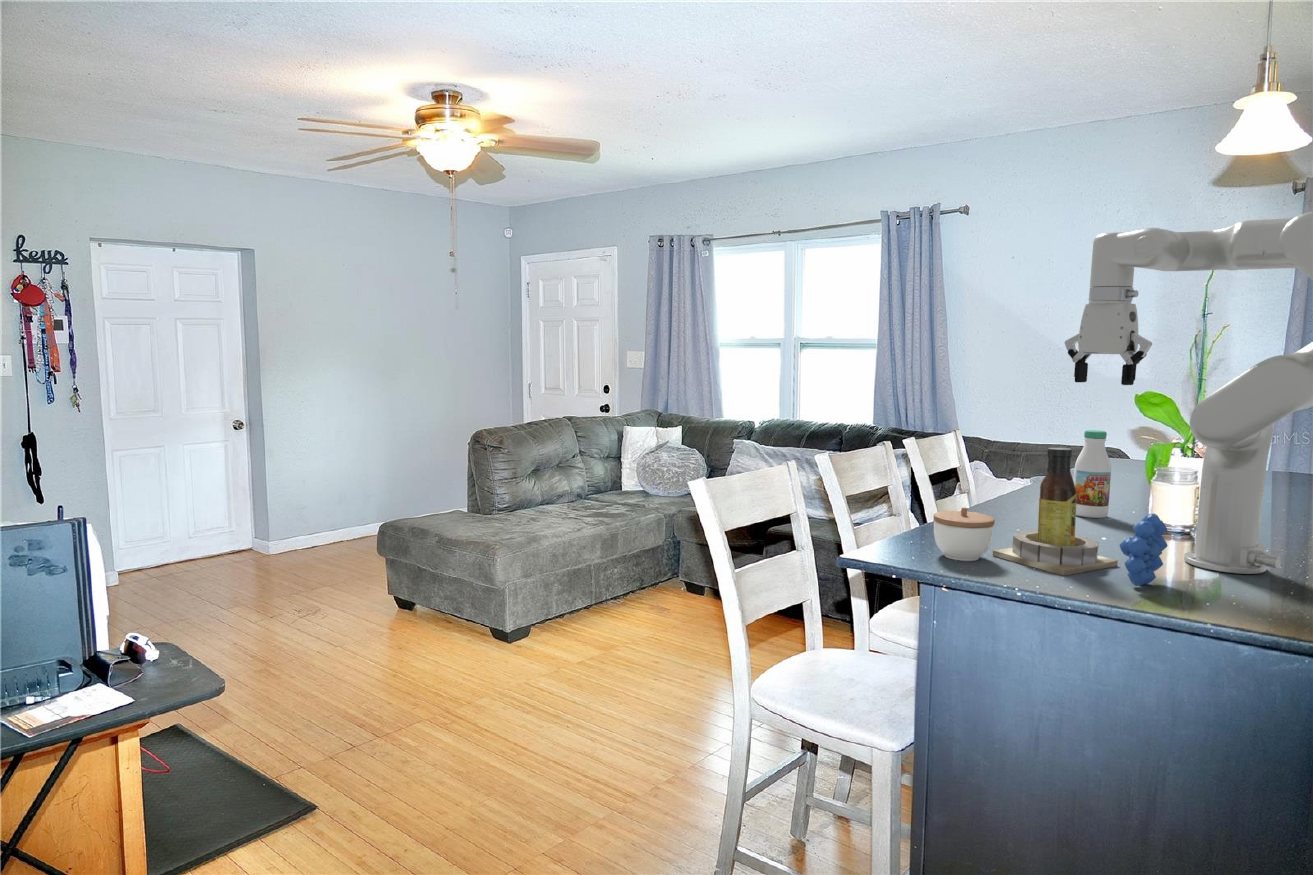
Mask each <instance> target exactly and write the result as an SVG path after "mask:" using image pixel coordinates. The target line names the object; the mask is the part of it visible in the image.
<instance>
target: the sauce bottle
mask: <svg viewBox="0 0 1313 875" xmlns="http://www.w3.org/2000/svg"><path fill="white" fill-rule="evenodd" d="M1072 453H1073V450H1072V448H1068V447H1067V448H1066V447H1048V448H1047V453H1046V455H1047V457H1048V458H1047V460H1048V461H1047V468H1046V470H1047V474H1045V476H1044V478H1043V479H1042V481H1041V483H1040V487H1039V490H1040V491H1039V499H1038V517H1037V518H1038V520H1037V521H1038V523H1037V531H1038V542H1039V543H1043V544H1049V545H1057V546H1074V545H1075V535H1076V520H1077V515H1076V498H1077V491H1076V488H1075V485H1074V482H1073V480H1074V477H1072V476H1073V475H1072V472H1071V458H1072V456H1073V454H1072Z"/></svg>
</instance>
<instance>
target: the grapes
mask: <svg viewBox="0 0 1313 875" xmlns="http://www.w3.org/2000/svg"><path fill="white" fill-rule="evenodd" d="M1132 529H1133V531H1134V533H1135V535H1134V536H1133V537H1127V538H1126V539H1124V540H1122V542H1120V544H1119V549H1120V551H1121V553H1122V554H1123V555H1124V556H1126V557H1128V559H1127V560H1126V561H1124V566H1125V568H1126V570H1127V576H1128V579H1129V581H1130V582H1131V584H1132V585H1134V586H1135V587H1137V586H1138V587H1139V586H1142V585H1148V584H1150V583H1152V582H1153V581H1154V580H1155V579H1156V578H1157V576H1156V574H1155V572H1156V571H1157V570H1159V569H1160V568H1162V567H1163V566H1164V563H1163V560H1162V558H1161V555H1162V554H1163V551H1164V550H1165V549H1167V547H1168V543H1167V542H1166V539H1165V538H1164V536H1163V535H1164V534H1165V533H1166V532H1167V531H1168V529H1167V526H1166V524H1165V523H1164V522H1163V520H1162V519H1160V517H1159V516H1158V514H1156V513H1149V514H1146V515H1145V516H1144V517H1143V518H1141V519H1140V521H1139V522H1137V523H1136V524H1135V525H1134V526H1133V527H1132Z"/></svg>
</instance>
